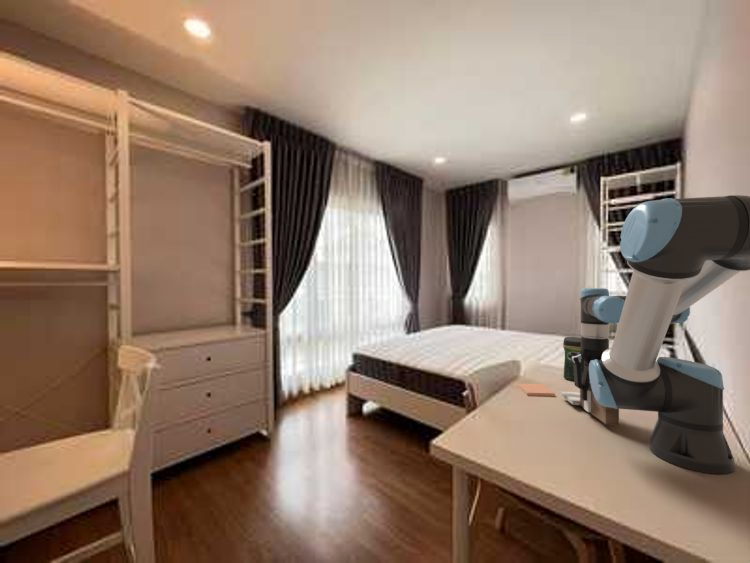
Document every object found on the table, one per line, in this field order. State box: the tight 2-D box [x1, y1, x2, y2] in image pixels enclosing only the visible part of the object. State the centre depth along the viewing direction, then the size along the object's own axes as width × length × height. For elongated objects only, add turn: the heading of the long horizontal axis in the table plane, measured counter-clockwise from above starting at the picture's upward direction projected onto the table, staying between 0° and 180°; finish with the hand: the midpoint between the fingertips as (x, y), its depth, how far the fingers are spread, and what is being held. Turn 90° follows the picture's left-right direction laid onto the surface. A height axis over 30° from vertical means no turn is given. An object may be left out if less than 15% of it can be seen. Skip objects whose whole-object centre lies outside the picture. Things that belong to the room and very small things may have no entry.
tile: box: [516, 383, 556, 397], centre depth 134 cm, size 2×10×12 cm
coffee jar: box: [562, 336, 584, 381], centre depth 150 cm, size 10×8×19 cm
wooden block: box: [560, 383, 620, 426], centre depth 111 cm, size 26×8×9 cm, turn 172°
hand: (594, 410), depth 108 cm, fingers closed on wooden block, 3 cm apart
